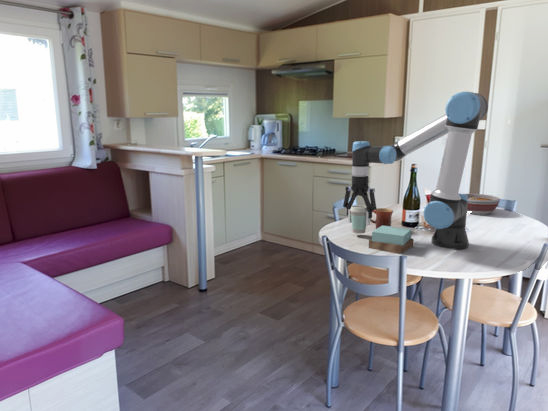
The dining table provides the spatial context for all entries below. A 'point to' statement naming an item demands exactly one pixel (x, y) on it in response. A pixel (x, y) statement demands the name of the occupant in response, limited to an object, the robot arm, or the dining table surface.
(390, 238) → the tower top
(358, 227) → the coffee cup
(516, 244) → the dining table surface
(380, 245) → the tower base
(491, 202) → the bowl
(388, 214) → the mug
